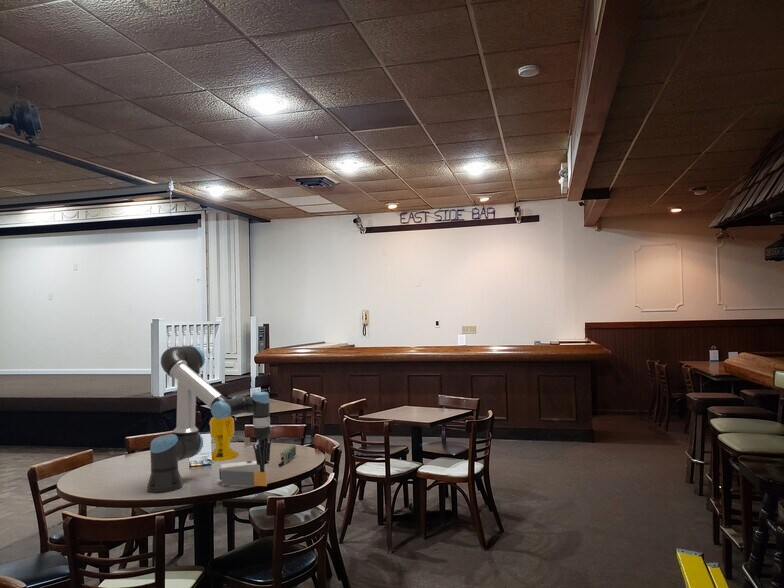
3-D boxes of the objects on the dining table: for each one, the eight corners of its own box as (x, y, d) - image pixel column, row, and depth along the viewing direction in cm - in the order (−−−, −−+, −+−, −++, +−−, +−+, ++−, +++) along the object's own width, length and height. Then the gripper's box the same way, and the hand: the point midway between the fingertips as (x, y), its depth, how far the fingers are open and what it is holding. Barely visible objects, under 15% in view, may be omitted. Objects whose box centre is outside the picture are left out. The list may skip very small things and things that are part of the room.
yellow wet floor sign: (218, 463, 310) (217, 411, 311) (197, 457, 327) (196, 408, 329) (247, 457, 322) (245, 407, 324) (225, 452, 339) (224, 404, 341)
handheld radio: (297, 456, 321) (282, 467, 296) (291, 456, 321) (276, 467, 296) (296, 444, 321) (281, 454, 296) (290, 444, 322) (275, 454, 297)
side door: (221, 483, 264) (221, 470, 264) (223, 483, 265) (222, 470, 265) (265, 486, 257) (265, 472, 257) (267, 485, 258) (266, 472, 258)
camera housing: (219, 485, 265) (219, 466, 265) (219, 481, 273) (219, 463, 273) (261, 480, 270) (260, 462, 271) (260, 476, 278) (259, 458, 278)
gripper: (262, 429, 254) (264, 483, 253) (276, 423, 267) (278, 475, 266) (247, 429, 257) (249, 482, 255) (261, 423, 269) (263, 474, 268)
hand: (263, 478), depth 261 cm, fingers closed
